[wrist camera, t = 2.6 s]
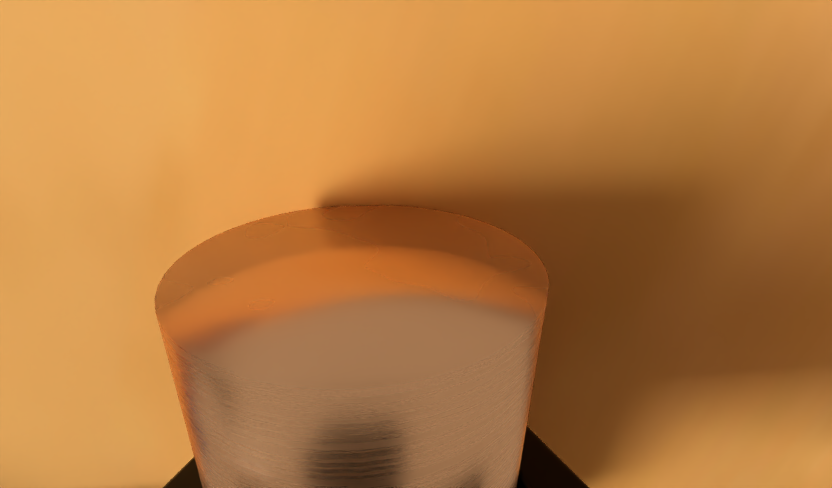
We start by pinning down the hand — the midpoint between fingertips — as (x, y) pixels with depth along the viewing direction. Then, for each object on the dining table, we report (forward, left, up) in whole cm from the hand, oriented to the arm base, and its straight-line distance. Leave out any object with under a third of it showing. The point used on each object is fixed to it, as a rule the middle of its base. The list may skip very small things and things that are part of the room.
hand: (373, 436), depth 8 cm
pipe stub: (+1, 0, -1) cm, 2 cm away
